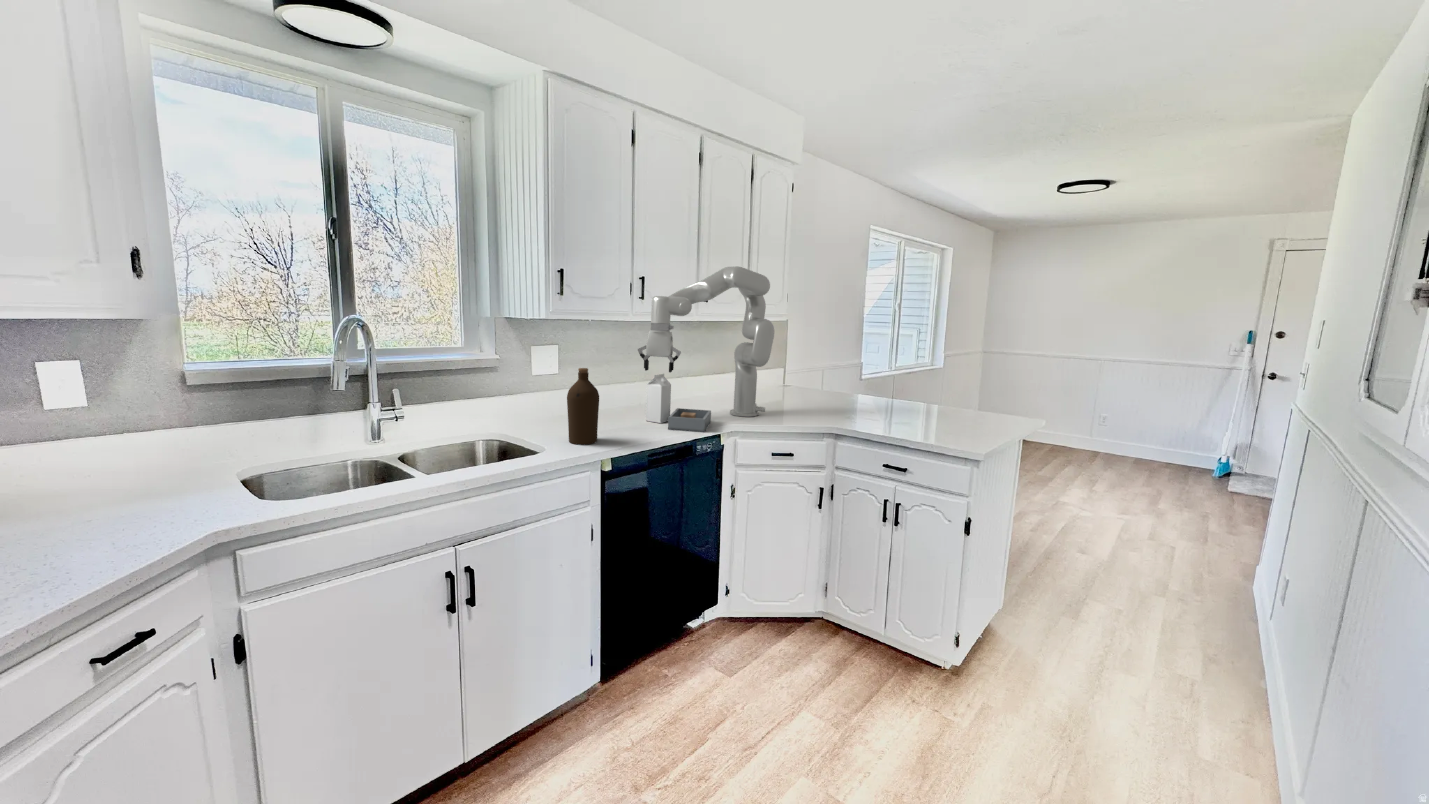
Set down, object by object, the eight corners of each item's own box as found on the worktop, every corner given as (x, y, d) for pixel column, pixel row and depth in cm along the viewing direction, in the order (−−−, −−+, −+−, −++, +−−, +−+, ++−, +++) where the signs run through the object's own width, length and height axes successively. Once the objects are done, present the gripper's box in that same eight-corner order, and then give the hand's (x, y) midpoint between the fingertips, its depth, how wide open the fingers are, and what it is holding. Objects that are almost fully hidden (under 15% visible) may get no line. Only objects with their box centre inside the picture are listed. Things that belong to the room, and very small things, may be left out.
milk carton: (645, 421, 232) (646, 374, 229) (655, 418, 238) (656, 372, 235) (660, 423, 229) (661, 376, 226) (670, 420, 235) (671, 374, 232)
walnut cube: (695, 425, 225) (695, 412, 224) (693, 428, 220) (693, 415, 219) (682, 424, 225) (683, 412, 224) (680, 427, 220) (680, 414, 220)
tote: (710, 422, 235) (711, 410, 234) (704, 432, 218) (704, 419, 217) (676, 420, 237) (677, 408, 236) (667, 429, 219) (668, 416, 218)
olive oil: (602, 444, 194) (602, 370, 189) (569, 446, 189) (569, 370, 185) (595, 436, 203) (595, 366, 199) (564, 438, 199) (564, 366, 195)
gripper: (683, 329, 230) (681, 371, 233) (641, 326, 232) (639, 368, 234) (680, 329, 222) (678, 373, 225) (636, 326, 224) (634, 370, 227)
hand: (658, 371), depth 230 cm, fingers open, 9 cm apart
